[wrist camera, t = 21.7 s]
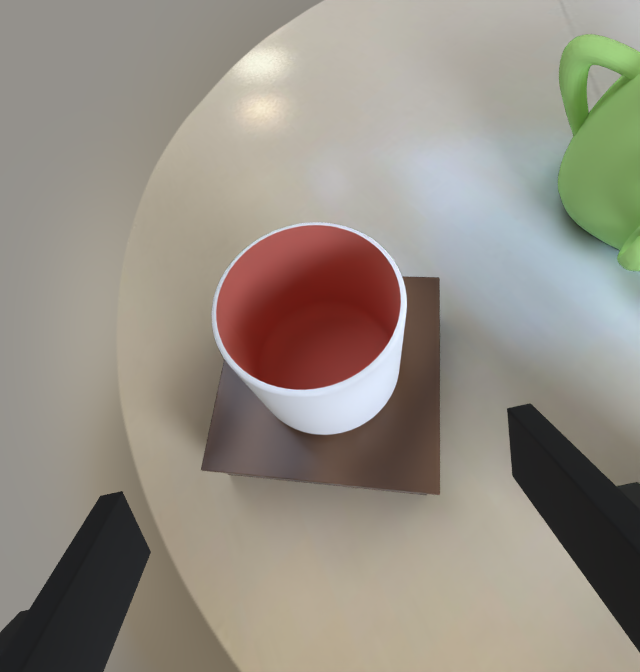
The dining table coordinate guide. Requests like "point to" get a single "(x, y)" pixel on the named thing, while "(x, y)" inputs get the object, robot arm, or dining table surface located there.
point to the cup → (314, 325)
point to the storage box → (354, 445)
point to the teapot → (603, 146)
